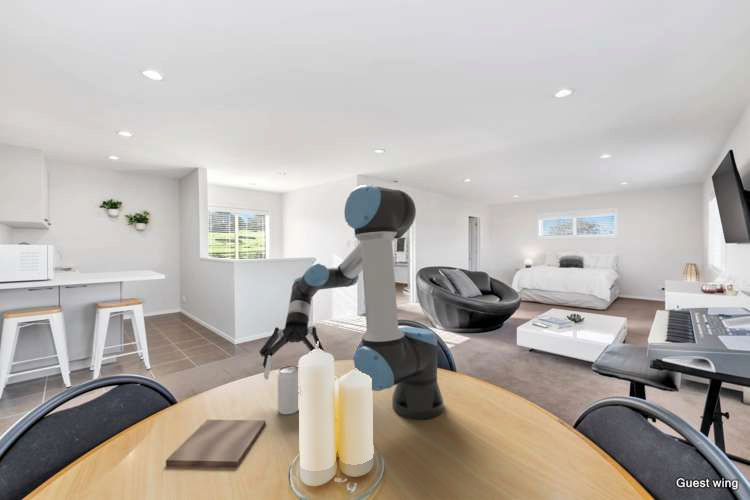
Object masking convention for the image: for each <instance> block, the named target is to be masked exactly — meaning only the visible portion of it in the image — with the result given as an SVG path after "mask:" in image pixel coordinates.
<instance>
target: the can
mask: <svg viewBox="0 0 750 500" xmlns="http://www.w3.org/2000/svg"><path fill="white" fill-rule="evenodd" d="M298 368H299V366H297V365H284V366H282V367H280V368H279V369H278V374H277V411H278V413H279V414H281V415H286V416H288V415H293V414H296V413H297V412H299V410H298V394H299V392H298V388H299V387H298Z"/></svg>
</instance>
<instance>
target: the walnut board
mask: <svg viewBox="0 0 750 500" xmlns="http://www.w3.org/2000/svg"><path fill="white" fill-rule="evenodd" d="M265 426H266V420H262V419H261V420H260V419H259V420H257V419H256V420H255V419H247V420H246V419H206V420H205V421H204V422H203V423H202V424H201V425H200V426H199V427H198V428H197V429H196V430H195V431H193V433H192V434H191V435H190V436H189V437H188V438H187V439H186V440H185V441H184V442H183V443H182V444H180V446H178V448H177V449H176V450H175V451H174V452H173V453H172V454H171V455H169V456H168V458H166V460H165V465H166V466H171V467H173V466H175V467H177V466H179V467H181V466H182V467H219V468H220V467H227V468H232V467H233V468H238V467H239V466H240V464H241V463H242V461H243V460H244V459H245V456H246V455H247V453H248V452H249V450H250V449H251V447H252V446H253V444H254V443H255V441H257V438H258V437H259V435H260V434H261V432H262V431H263V429H264V428H265Z"/></svg>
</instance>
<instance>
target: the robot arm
mask: <svg viewBox="0 0 750 500" xmlns="http://www.w3.org/2000/svg"><path fill="white" fill-rule="evenodd" d="M416 208H417V207H416V205H415V202H414V200H413V198H412V197H411V196H410V194H408V193H407V192H405V191H402V190H400V189H392V188H385V187H383V186H382V187H381V186H377V185H374V184H371V185H368V184H367V185H366V184H364V185H363V184H362V185H358V186H357V187H355V188H354V189H352V191H351V192H350V193H349V196H348V197H347V199H346V202H345V204H344V211H343V212H344V213H343V214H344V219H345V222H346V223H347V225H348V226H349V228H352V229H354V237H355V238H356V240H358V241H359V243H358V244H357V246H355V248H354V249H353V250H352V251H351V252H350V253H349V254H348V255H347V256H346V258H345V259H344V260H343V261H342V262H341V263H340V264H339V265H338V266H337V267H327V266H326V265H325V264H321V263H314V264H311V265H310V267H309V268H307V269H306V270H305V272H304V273H303V275H302V276H299V277H298V278H296V279H294V280H293V284H292V286H291V292H290V299H289V305H288V308H287V309H288V310H287V316H286V319H285V325H284V327H283V328H282V329H281V328H279V327H278V326H277V327H275V328H274V331H273V333H272V335H271V336H270V337H269V338H268V340H267V341H266V342H265V343H264V345H263V347H261V349H259V354H260V356H261V357H262V358H263V362H262V366H263V368H264V373H263V377H264V379H265V380H269V376H270V373H271V372H270V371H271V368H272V367H271V366H272V361H273V358H272V356H274V354H276V353H277V352H278V351H279V350H280V349H281V348H282V347H284V346H285V345H286V344H288V343H291V344H292V343H300V342H302V343H303V344H304V345H305V347H306V348H307V349H308V350H309V351H310V352H311V351H312V350H313V349H316V348H315V347H314V345H313V344H312V342H310V340H309V339H308V338H307V336H308V335H309V334H310V336H312V337H313V340H314V343H315V345H316V344H317V341H319V348H320V349H322V350H323V351H324V352H325V350H324V348H323V346H322V343H321V341H320V339H319V337H318V332H317V328H316V327H315V326H313V327H312V328H309V321H310V314H311V313H310V311H311V304H312V299H313V297H314V296H315V295H316V293H317V292H318V291H320V290H327V289H334V288H335V289H337V288H349V287H351V286H355V285H356V284H357V283H358V280H359V274H360V273H362V277H363V278H362V279H363V292H364V293H363V294H364V306H365V307H364V308H365V320H366V321H365V322H366V324H365V325H366V330H365V332H364V333H363V334H362V336H361V346H360V347H359V348H358V349H356V351H355V353H354V356H353V364H354V369H355V368H357V369H358V370H359V371H361V372H362V373H365V374H367V375H369V376H370V377H371V378H372V390H371V391H374V392H380V391H383V390H386V389H387V390H389V389H391V388H393V387H394V386H395V388H394V391H393V395H392V404H391V405H392V409H393V410H394V411H395V412H396V413H397V414H399V415H401V416H403V417H405V418H409V419H413V420H430V419H432V418H435V417H437V416H439V415H441V413H442V412H443V410H444V399H443V395H442V393H441V389H440V386H439V383H438V339H437V338H438V337H437V334H436V333H435V332H434V331H433V330H431V329H426V328H421V327H414V326H413V327H412V326H402V327H399V319H398V307H397V306H398V305H397V292H396V280H395V278H396V277H395V265H394V264H395V263H394V251H393V241H394V240H399V239H401V238H402V237H403V236H404V235H405V234H406V233H407V232H408V231H409V229H410V228H411V227H412V225H413V224H414V221H415V219H416V213H417V210H416ZM282 334H283V335H282ZM281 335H282V336H281ZM279 337H280V339H279V340H278V338H279ZM277 340H278V341H277Z"/></svg>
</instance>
